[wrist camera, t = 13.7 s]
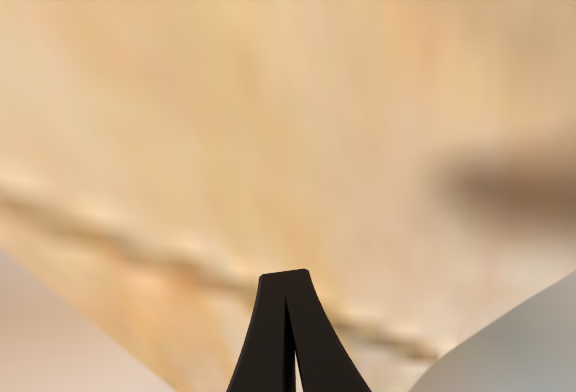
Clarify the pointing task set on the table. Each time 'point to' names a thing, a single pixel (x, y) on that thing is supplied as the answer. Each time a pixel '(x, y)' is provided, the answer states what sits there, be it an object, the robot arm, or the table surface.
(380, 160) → the table surface
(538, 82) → the table surface
